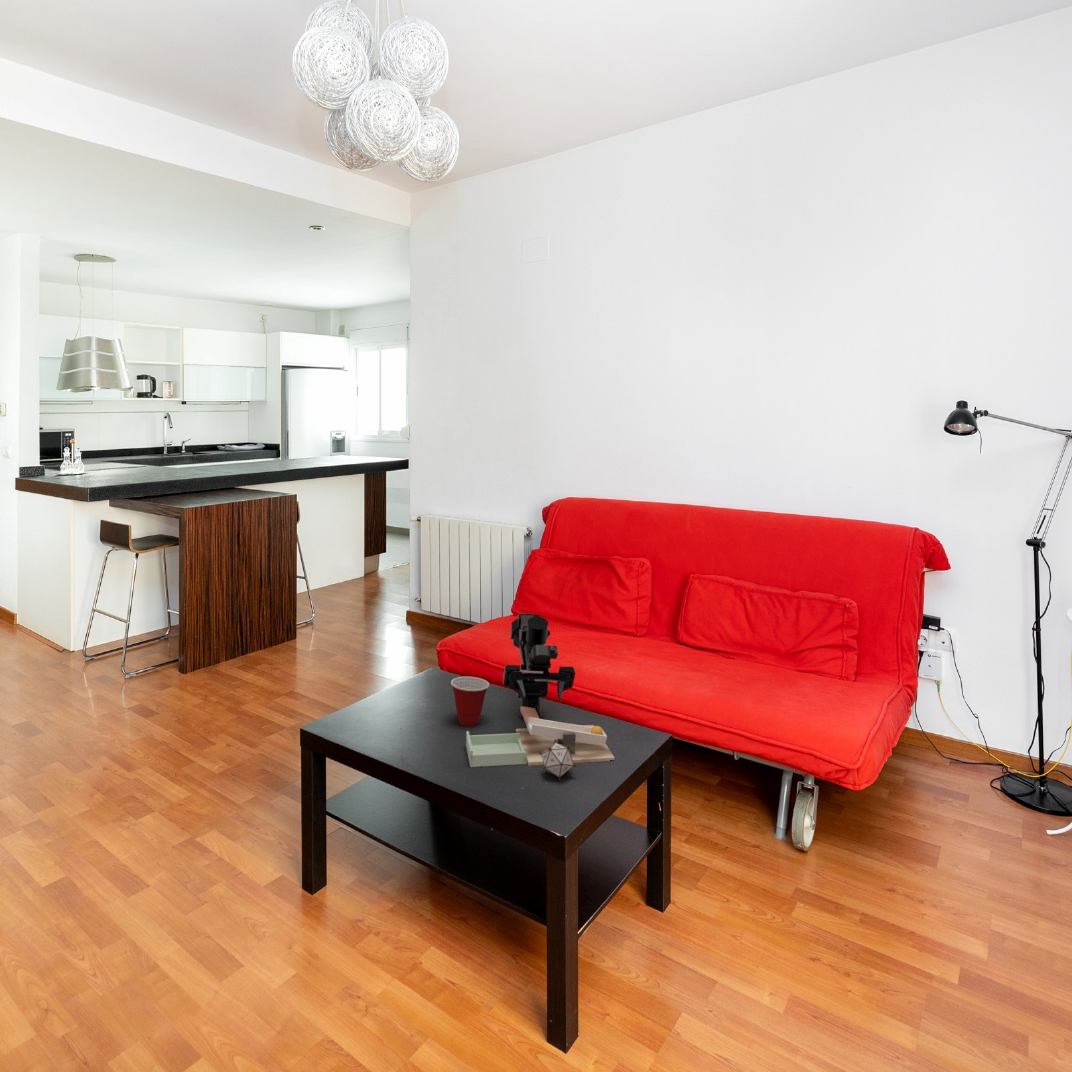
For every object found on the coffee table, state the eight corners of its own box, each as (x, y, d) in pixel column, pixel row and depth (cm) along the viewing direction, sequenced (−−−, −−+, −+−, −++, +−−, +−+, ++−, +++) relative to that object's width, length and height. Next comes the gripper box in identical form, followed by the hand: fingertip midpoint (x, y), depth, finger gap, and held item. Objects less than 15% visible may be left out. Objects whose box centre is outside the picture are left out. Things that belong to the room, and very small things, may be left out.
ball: (588, 733, 190) (591, 723, 190) (599, 735, 191) (602, 725, 190) (591, 738, 187) (594, 727, 187) (602, 740, 188) (605, 729, 188)
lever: (520, 709, 200) (522, 700, 199) (588, 720, 204) (590, 711, 203) (530, 734, 183) (532, 724, 183) (604, 746, 187) (607, 736, 187)
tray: (466, 746, 189) (466, 731, 189) (519, 743, 192) (519, 728, 191) (470, 767, 178) (470, 750, 177) (526, 763, 180) (526, 747, 180)
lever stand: (515, 731, 200) (516, 710, 199) (593, 727, 204) (594, 707, 203) (528, 765, 179) (528, 742, 178) (614, 760, 183) (615, 737, 182)
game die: (553, 793, 173) (535, 769, 168) (546, 766, 181) (528, 742, 175) (586, 777, 172) (569, 752, 167) (578, 750, 180) (561, 726, 175)
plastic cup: (487, 730, 200) (487, 688, 198) (448, 729, 200) (448, 687, 199) (490, 715, 211) (491, 675, 209) (453, 714, 211) (453, 674, 209)
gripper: (505, 634, 193) (509, 675, 180) (574, 636, 196) (583, 677, 183) (501, 665, 199) (504, 707, 186) (567, 667, 202) (576, 708, 189)
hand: (542, 699), depth 186 cm, fingers open, 9 cm apart
